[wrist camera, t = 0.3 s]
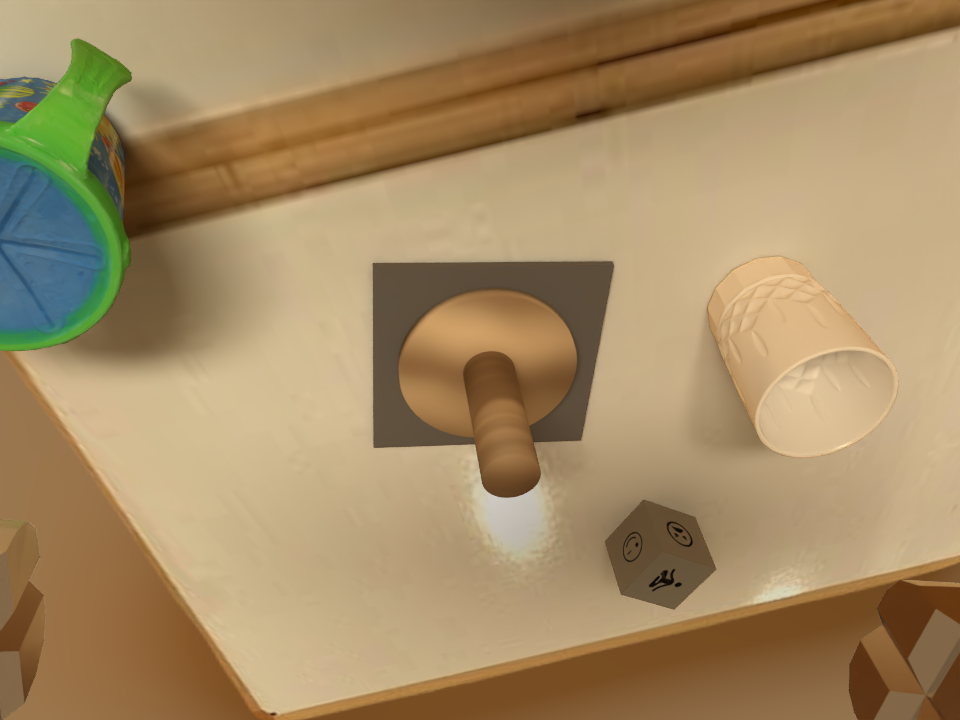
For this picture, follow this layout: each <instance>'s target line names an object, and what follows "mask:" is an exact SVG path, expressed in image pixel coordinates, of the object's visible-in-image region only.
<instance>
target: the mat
mask: <svg viewBox="0 0 960 720" xmlns="http://www.w3.org/2000/svg"><path fill="white" fill-rule="evenodd" d="M613 266H614V265H613V262H479V263H373V427H374V448H384V447H411V446H439V445H467V444H475V440H474V438H471V437H463V436H457V435H453V434H449V433H446V432H443V431H440V430H438V429H436V428H434V427H432V426H430V425H429V424H427V423H426V422H424V421H423V420H422V419H420V418H419V417H418V416H417V415H416V414H415V413H414V412H413V411H412V409H411V408H410V407H409V405H408V404H407V402H406V401H405V398H404V396H403V394H402V391H401V387H400V382H399V370H398V360H399V353H400V349H401V346H402V343H403V341H404V339H405V336H406V335H407V333H408V332H409V330H410V328H411V327H412V326H413V325H414V323H415V322H416V321H417V320H418V319H419V318H420V317H421V316H422V315H423V314H424V313H425V312H426V311H428V310H429V309H431V308H432V307H433V306H435V305H436V304H438V303H440V302H442V301H444V300H445V299H447V298H450V297H452V296H455V295H457V294H460V293H464V292H467V291H471V290H477V289H485V288H506V289H512V290H518V291H522V292H525V293H529V294H531V295H533V296H536V297H538V298H540V299H541V300H543V301H545V302H546V303H548V304H549V305H550V306H552V307H553V308H554V309H555V310H556V311H557V312H558V313H559V314H560V315H561V316H562V318H563V319H564V321H565V322H566V324H567V325H568V328H569V330H570V332H571V335H572V338H573V341H574V344H575V348H576V353H577V366H576V372H575V376H574V380H573V382H572V384H571V387H570V389H569V390H568V392H567V394H566V395H565V397H564V398H563V399H562V401H561V402H560V403H559V404H558V405H557V406H556V407H555V408H554V409H553V410H552V411H551V412H550V413H548V414H547V415H546V416H545V417H543V418H542V419H540V420H539V421H537V422H536V423H534V424H532V425H530V426H529V427H530V431H531V435H532V439H533V442H550V441H577V440H581V437H582V431H583V426H584V421H585V415H586V410H587V405H588V399H589V394H590V389H591V384H592V378H593V373H594V368H595V362H596V357H597V352H598V346H599V341H600V336H601V330H602V325H603V320H604V314H605V309H606V304H607V298H608V293H609V288H610V282H611V277H612V272H613Z"/></svg>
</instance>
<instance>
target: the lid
mask: <svg viewBox="0 0 960 720" xmlns="http://www.w3.org/2000/svg"><path fill="white" fill-rule="evenodd" d="M576 366H577V353H576V348H575V344H574V341H573V338H572V335H571V332H570V330H569V328H568V325H567V324H566V322H565V321H564V319H563V318H562V316H561V315H560V314H559V313H558V312H557V311H556V310H555V309H554V308H553V307H552V306H550V305H549V304H548V303H546V302H545V301H543V300H541V299H540V298H538V297H536V296H533V295H531V294H529V293H525V292H522V291H518V290H512V289H506V288H485V289H477V290H471V291H467V292H464V293H460V294H457V295H455V296H452V297H450V298H447V299H445V300H444V301H442V302H440V303H438V304H436V305H435V306H433V307H432V308H431V309H429V310H428V311H426V312H425V313H424V314H423V315H422V316H421V317H420V318H419V319H418V320H417V321H416V322H415V323H414V325H413V326H412V327H411V328H410V330H409V332H408V333H407V335H406V336H405V339H404V341H403V343H402V346H401V349H400V353H399V360H398V370H399V382H400V387H401V391H402V394H403V396H404V398H405V401H406V402H407V404H408V405H409V407H410V408H411V409H412V411H413V412H414V413H415V414H416V415H417V416H418V417H419V418H420V419H422V420H423V421H424V422H426V423H427V424H429V425H430V426H432V427H434V428H436V429H438V430H440V431H443V432H446V433H449V434H453V435H457V436H463V437H471V438H474V440H475V445H476V451H477V457H478V462H479V468H480V474H481V479H482V484H483V486H484V488H485V489H486V490H487V491H488V492H489V493H491V494H492V495H495V496H498V497H504V498H509V497H516V496H520V495H523V494H525V493H527V492H528V491H530V490H531V489H533V488H534V487H535V486H536V484H537V483H538V481H539V479H540V476H541V471H540V467H539V463H538V459H537V455H536V451H535V447H534V443H533V439H532V435H531V431H530V427H529V426H530V425H532V424H534V423H536V422H537V421H539V420H540V419H542V418H543V417H545V416H546V415H547V414H548V413H550V412H551V411H552V410H553V409H554V408H555V407H556V406H557V405H558V404H559V403H560V402H561V401H562V399H563V398H564V397H565V395H566V394H567V392H568V390H569V389H570V387H571V384H572V382H573V380H574V376H575V372H576Z"/></svg>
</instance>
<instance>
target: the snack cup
mask: <svg viewBox="0 0 960 720" xmlns="http://www.w3.org/2000/svg"><path fill="white" fill-rule="evenodd" d="M71 47H72V60H71V64H70V66H69V69H68V71H67V72H66V74H65V75H64V76H63V78H62V79H61V80H60V81H59V82H58V83H54V82H51V81H48V80H43V79H39V78H28V77H21V78H11V79H0V350H2V351H26V350H36V349H41V348H46V347H51V346H54V345H58V344H64V343H67V342H69V341H71V340H73V339H75V338H77V337H78V336H79V335H81V334H83V333H84V332H86V331H87V330H89V329H90V328H91V327H93V326H94V325H95V324H96V323H98V322H99V321H100V320H101V319H102V318H103V316H104V315H105V314H106V313H107V312H108V310H109V309H110V307H111V306H112V304H113V302H114V300H115V298H116V296H117V294H118V292H119V290H120V288H121V285H122V282H123V279H124V275H125V270H126V268H127V267H128V266H129V265H130V242H129V239H128V237H127V235H126V233H125V229H124V225H123V213H124V191H125V189H124V184H125V166H124V165H125V163H124V150H123V148H122V146H121V141H120V139H119V137H118V136H117V133H116V131H115V130H114V128H113V127H112V125H111V123H110V122H109V120H108V119H107V118H106V116H104V113H105V111H106V108H107V105H108V104H109V101H110V99H111V97H112V96H113V93H114V92H115V91H116V90H117V89H118V88H120V87H121V86H122V85H124V84H126V83H128V82H130V81H131V80H132V76H131V72H130V71H129V70H128V69H127V68H126V67H125V66H124V65H123V64H121V63H120V62H119V61H117V60H116V59H114V58H112V57H110V56H109V55H107V54H106V53H104V52H102V51H101V50H99V49H98V48H96V47H94V46H93V45H91V44H89V43H87V42H85V41H83V40H81V39H74V40H72V41H71Z"/></svg>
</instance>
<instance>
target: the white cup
mask: <svg viewBox="0 0 960 720" xmlns="http://www.w3.org/2000/svg"><path fill="white" fill-rule="evenodd" d="M708 316H709V324H710V328H711V330H712V333H713V335H714V337H715V339H716V341H717V343H718V345H719V348H720V352H721V355H722V357H723V360H724V362H725V364H726V366H727V368H728V371H729V373H730V376H731V378H732V381H733V383H734V385H735V387H736V389H737V391H738V394H739V396H740V398H741V400H742V402H743V404H744V406H745V408H746V411H747V413H748V415H749V417H750V419H751V422H752V424H753V426H754V428H755V430H756V432H757V435H758V437H759V438H760V440H761V441H762V443H763V444H764V445H765V446H766V447H768V448H769V449H770V450H772V451H774V452H776V453H778V454H781V455H784V456H789V457H796V458H808V457H817V456H822V455H826V454H830V453H833V452H836V451H839V450H841V449H843V448H846V447H848V446H850V445H852V444H854V443H855V442H857V441H859V440H860V439H862V438H863V437H865V436H866V435H867V434H869V433H870V432H871V431H872V430H873V429H875V428H876V427H877V426H878V425H879V424H880V423H881V421H882V420H883V419H884V418H885V417H886V415H887V414H888V412H889V411H890V409H891V408H892V406H893V404H894V402H895V399H896V396H897V392H898V385H899V381H898V375H897V371H896V369H895V367H894V365H893V364H892V362H891V361H890V360H889V359H888V358H887V357H886V356H885V354H884V353H883V352H882V351H881V350H880V349H879V348H878V346H877V345H876V344H875V343H874V342H873V341H872V340H871V338H870V337H869V336H868V335H867V334H866V333H865V331H864V330H863V329H862V328H861V327H860V326H859V325H858V323H857V322H856V321H855V320H854V318H853V317H852V316H851V315H850V314H849V313H848V312H847V311H846V310H845V309H844V308H843V307H842V306H841V305H840V303H839V302H838V301H837V300H836V299H835V298H834V297H833V296H832V295H831V294H830V293H829V292H828V291H826V290H825V289H824V288H822V287H821V286H820V284H819V283H818V282H817V281H816V280H815V279H814V278H813V277H812V276H811V275H810V273H809V272H808V271H807V270H806V269H805V267H804V266H803V265H802V264H801V263H799V262H796V261H793V260H790V259H787V258H784V257H781V256H777V257H767V258H758V259H754V260H752V261H750V262H748V263H746V264H744V265H742V266H740V267H738V268H736V269H734V270H733V271H732V272H731V273H730V274H729V275H728V276H727V277H726V278H725V279H724V280H723V281H722V282H721V283H720V284H719V285H718V286H717V287H716V288H715V290H714V293H713V295H712V298H711V300H710V303H709V305H708Z"/></svg>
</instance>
